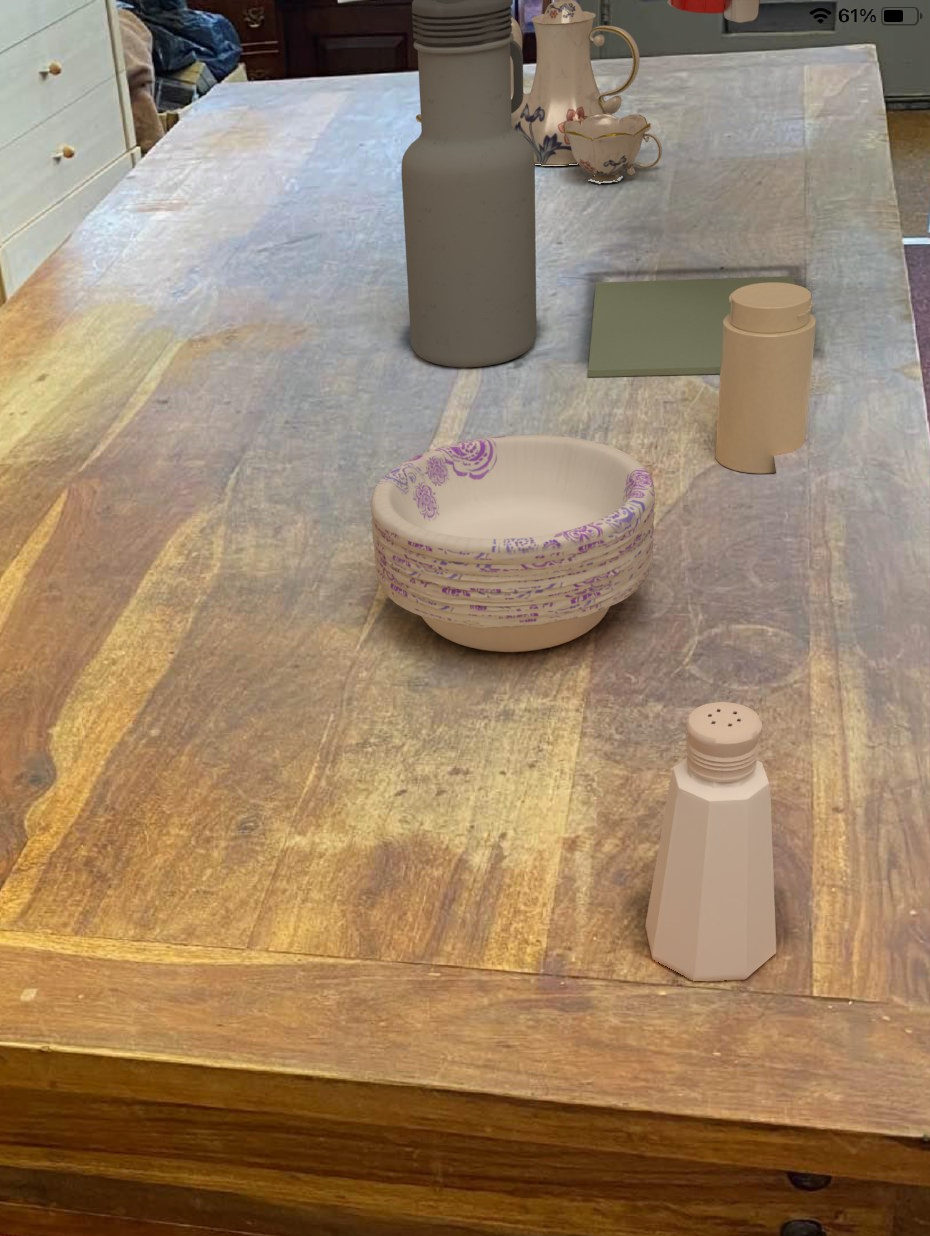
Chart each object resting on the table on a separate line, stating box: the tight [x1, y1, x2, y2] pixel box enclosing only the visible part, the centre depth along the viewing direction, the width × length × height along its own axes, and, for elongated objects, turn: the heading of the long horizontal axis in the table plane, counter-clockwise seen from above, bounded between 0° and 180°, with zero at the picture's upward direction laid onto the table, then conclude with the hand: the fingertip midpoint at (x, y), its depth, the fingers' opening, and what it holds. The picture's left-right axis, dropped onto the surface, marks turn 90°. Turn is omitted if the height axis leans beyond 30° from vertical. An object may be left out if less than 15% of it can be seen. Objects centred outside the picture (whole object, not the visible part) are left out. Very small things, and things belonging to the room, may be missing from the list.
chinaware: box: [415, 0, 663, 182], centre depth 165 cm, size 28×17×17 cm, turn 58°
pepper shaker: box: [644, 701, 777, 982], centre depth 64 cm, size 5×5×11 cm
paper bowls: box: [370, 434, 656, 653], centre depth 89 cm, size 15×15×8 cm
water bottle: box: [401, 0, 538, 368], centre depth 119 cm, size 10×10×28 cm
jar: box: [715, 282, 817, 474], centre depth 103 cm, size 6×6×11 cm
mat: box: [587, 275, 797, 378], centre depth 126 cm, size 16×20×1 cm
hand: (711, 13), depth 112 cm, fingers closed on lid, 6 cm apart
